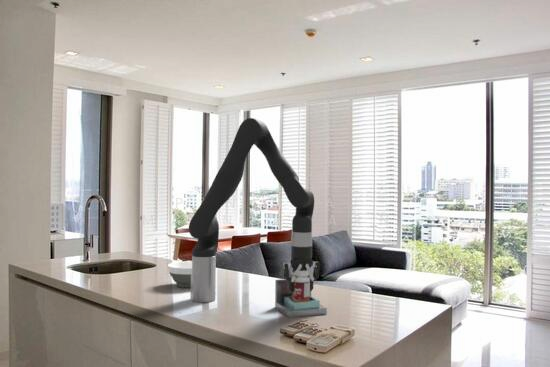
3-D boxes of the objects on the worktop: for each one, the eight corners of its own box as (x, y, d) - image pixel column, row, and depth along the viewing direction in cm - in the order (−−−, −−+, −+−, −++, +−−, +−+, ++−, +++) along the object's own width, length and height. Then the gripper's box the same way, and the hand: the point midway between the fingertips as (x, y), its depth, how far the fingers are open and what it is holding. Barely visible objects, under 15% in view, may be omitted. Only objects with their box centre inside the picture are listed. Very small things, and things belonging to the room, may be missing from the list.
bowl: (158, 288, 192) (158, 266, 192) (183, 280, 210) (183, 260, 210) (196, 292, 185) (196, 269, 185) (219, 283, 203) (219, 262, 203)
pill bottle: (289, 301, 156) (289, 270, 156) (299, 298, 161) (299, 267, 161) (302, 304, 152) (303, 272, 152) (313, 301, 157) (313, 269, 157)
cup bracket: (289, 317, 148) (289, 287, 148) (275, 307, 161) (275, 279, 162) (326, 313, 153) (326, 285, 153) (309, 304, 166) (310, 277, 166)
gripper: (286, 246, 151) (286, 295, 150) (324, 245, 156) (324, 292, 155) (279, 243, 158) (278, 290, 158) (315, 242, 163) (315, 288, 162)
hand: (301, 291), depth 156 cm, fingers closed on pill bottle, 6 cm apart
